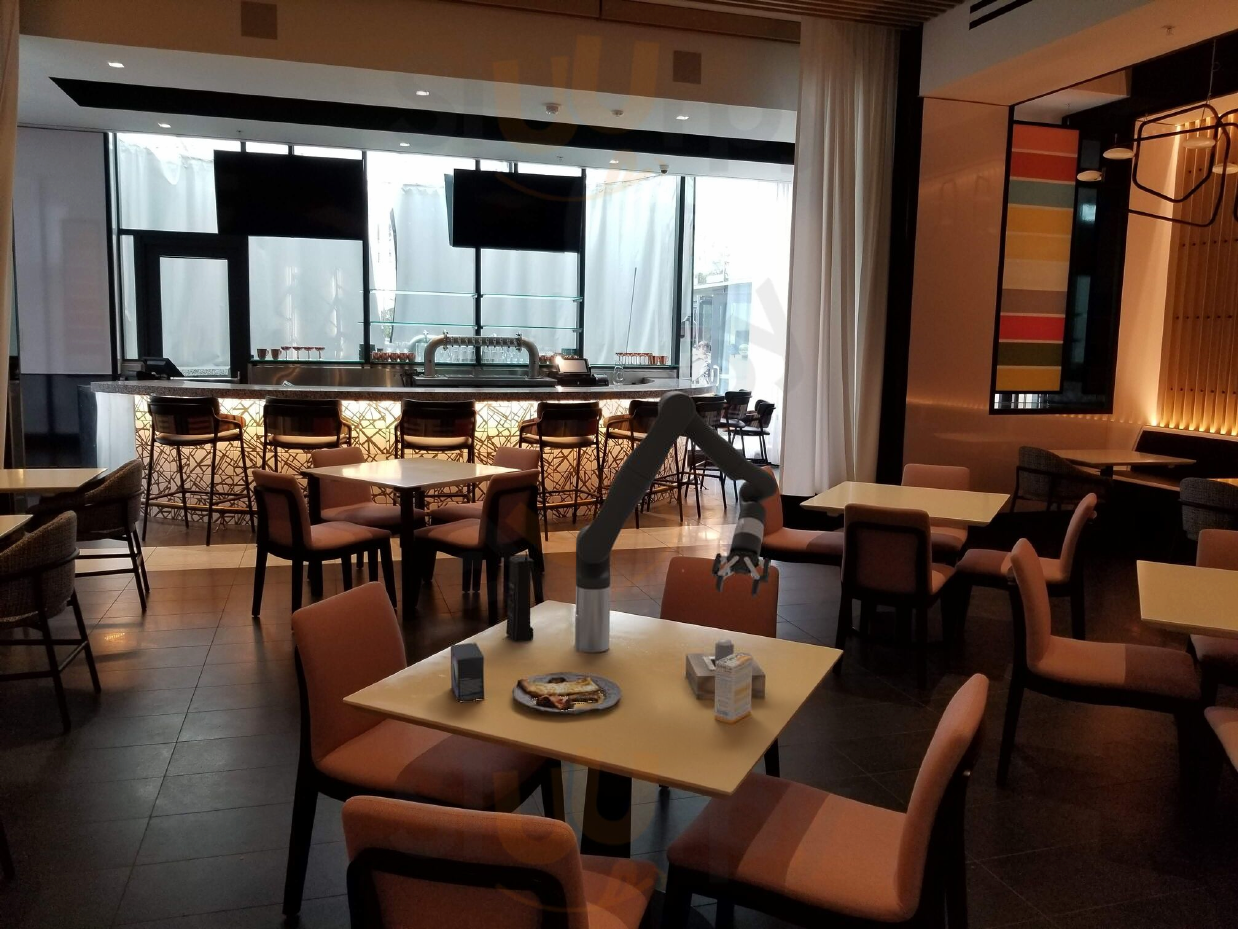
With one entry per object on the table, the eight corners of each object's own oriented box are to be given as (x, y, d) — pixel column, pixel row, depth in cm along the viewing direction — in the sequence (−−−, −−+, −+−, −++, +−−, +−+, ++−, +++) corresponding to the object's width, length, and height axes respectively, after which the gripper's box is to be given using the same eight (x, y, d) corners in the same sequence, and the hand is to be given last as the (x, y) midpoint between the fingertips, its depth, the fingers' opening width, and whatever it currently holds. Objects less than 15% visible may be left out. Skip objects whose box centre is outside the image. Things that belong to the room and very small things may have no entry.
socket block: (696, 699, 208) (697, 674, 207) (685, 674, 224) (686, 652, 223) (764, 697, 209) (765, 673, 209) (748, 674, 225) (749, 651, 224)
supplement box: (733, 708, 203) (734, 651, 201) (751, 713, 200) (753, 656, 198) (712, 719, 197) (714, 661, 195) (731, 725, 193) (733, 666, 192)
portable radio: (504, 634, 254) (504, 547, 251) (524, 632, 256) (524, 546, 253) (513, 642, 247) (513, 553, 244) (533, 640, 249) (534, 551, 246)
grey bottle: (716, 684, 214) (717, 643, 213) (712, 677, 218) (713, 638, 217) (734, 684, 214) (735, 643, 213) (730, 677, 219) (731, 637, 218)
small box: (449, 687, 213) (449, 644, 212) (476, 684, 215) (476, 641, 214) (456, 703, 203) (456, 658, 202) (485, 700, 205) (485, 655, 204)
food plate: (520, 722, 193) (521, 706, 192) (504, 685, 215) (505, 671, 215) (632, 715, 199) (633, 699, 199) (605, 680, 222) (606, 666, 221)
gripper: (718, 528, 233) (705, 582, 223) (773, 533, 228) (762, 588, 219) (722, 545, 238) (710, 597, 229) (776, 549, 233) (766, 603, 224)
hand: (736, 592), depth 224 cm, fingers open, 8 cm apart
